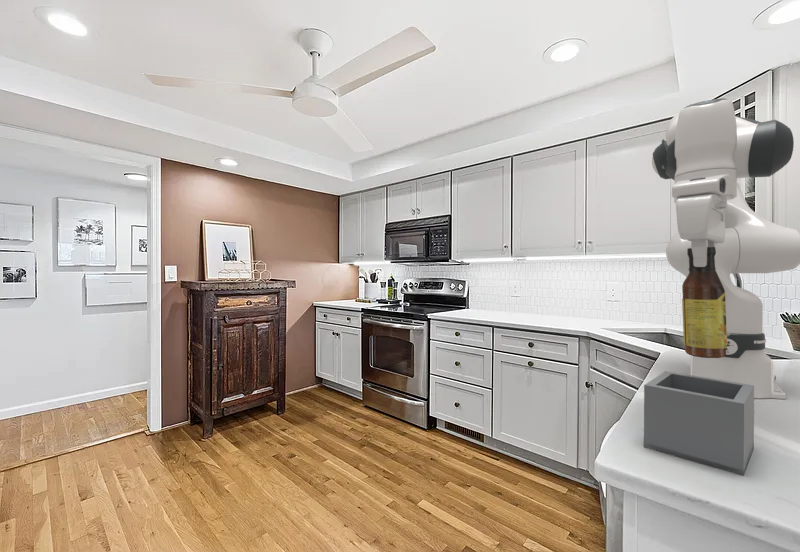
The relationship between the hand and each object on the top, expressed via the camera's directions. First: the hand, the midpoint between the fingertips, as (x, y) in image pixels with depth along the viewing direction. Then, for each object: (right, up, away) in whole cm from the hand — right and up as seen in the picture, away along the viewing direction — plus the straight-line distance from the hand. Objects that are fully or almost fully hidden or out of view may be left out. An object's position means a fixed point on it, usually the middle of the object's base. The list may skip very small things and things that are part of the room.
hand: (703, 267), depth 69 cm
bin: (-9, -29, -10) cm, 31 cm away
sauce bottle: (+1, -16, +1) cm, 16 cm away
